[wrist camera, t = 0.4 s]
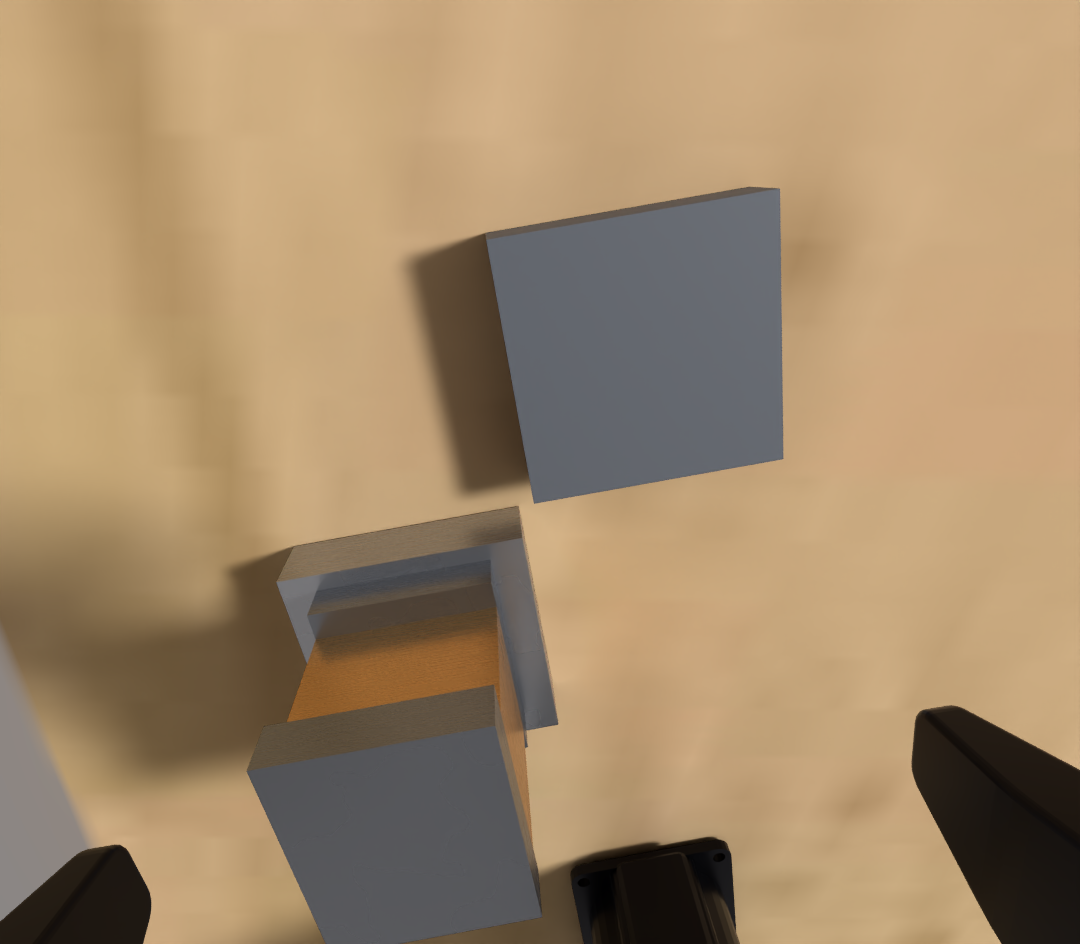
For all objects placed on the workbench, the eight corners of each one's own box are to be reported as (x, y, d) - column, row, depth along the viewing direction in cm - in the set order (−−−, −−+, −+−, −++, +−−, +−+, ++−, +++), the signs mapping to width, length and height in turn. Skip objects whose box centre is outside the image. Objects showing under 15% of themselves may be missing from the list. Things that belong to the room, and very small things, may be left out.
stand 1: (552, 682, 24) (558, 724, 22) (354, 718, 24) (344, 763, 22) (518, 506, 21) (522, 537, 19) (294, 546, 21) (276, 582, 19)
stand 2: (756, 434, 21) (783, 458, 19) (529, 474, 21) (534, 503, 19) (749, 187, 18) (780, 188, 16) (485, 232, 18) (486, 240, 16)
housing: (525, 718, 22) (542, 917, 16) (370, 746, 22) (331, 955, 16) (490, 559, 19) (495, 725, 14) (317, 590, 19) (246, 771, 14)
